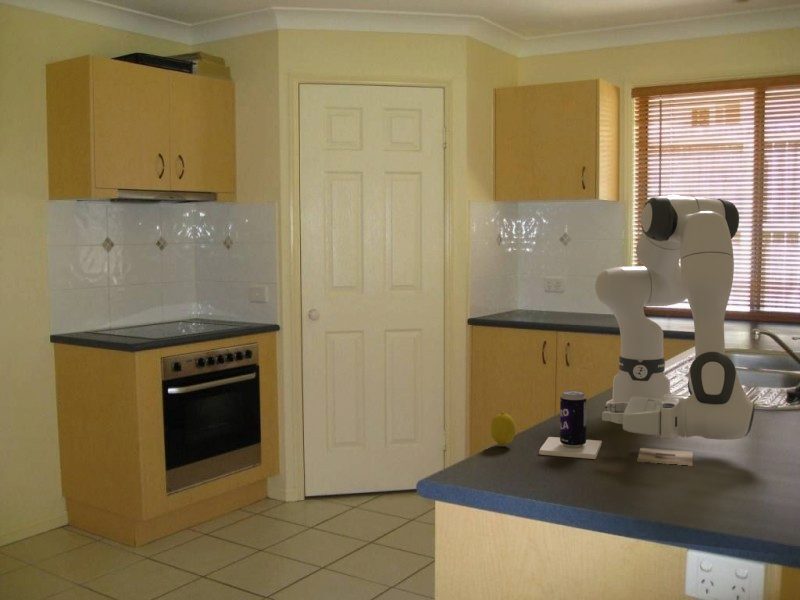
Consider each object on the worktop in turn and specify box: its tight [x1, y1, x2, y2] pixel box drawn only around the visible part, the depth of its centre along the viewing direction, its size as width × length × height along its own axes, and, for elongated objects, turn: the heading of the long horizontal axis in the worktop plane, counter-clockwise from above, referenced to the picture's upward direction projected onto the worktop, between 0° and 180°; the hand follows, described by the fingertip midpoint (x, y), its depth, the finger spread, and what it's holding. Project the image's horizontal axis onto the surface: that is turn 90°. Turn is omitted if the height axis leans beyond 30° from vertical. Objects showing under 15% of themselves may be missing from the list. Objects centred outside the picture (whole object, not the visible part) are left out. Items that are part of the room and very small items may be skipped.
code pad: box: [636, 447, 694, 467], centre depth 174 cm, size 11×11×1 cm
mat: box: [538, 436, 603, 460], centre depth 181 cm, size 12×12×1 cm
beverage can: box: [559, 389, 587, 448], centre depth 180 cm, size 6×6×12 cm
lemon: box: [490, 411, 516, 448], centre depth 184 cm, size 6×6×8 cm
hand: (604, 411), depth 178 cm, fingers open, 8 cm apart
